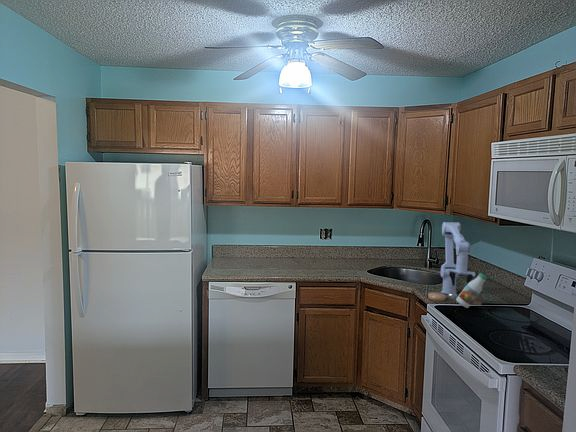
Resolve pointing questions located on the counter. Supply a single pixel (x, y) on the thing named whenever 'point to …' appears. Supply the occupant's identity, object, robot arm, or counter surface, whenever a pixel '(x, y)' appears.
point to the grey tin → (452, 295)
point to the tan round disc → (436, 296)
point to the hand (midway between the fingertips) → (460, 286)
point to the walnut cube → (478, 300)
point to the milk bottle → (471, 291)
